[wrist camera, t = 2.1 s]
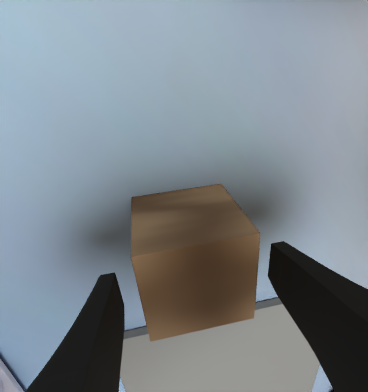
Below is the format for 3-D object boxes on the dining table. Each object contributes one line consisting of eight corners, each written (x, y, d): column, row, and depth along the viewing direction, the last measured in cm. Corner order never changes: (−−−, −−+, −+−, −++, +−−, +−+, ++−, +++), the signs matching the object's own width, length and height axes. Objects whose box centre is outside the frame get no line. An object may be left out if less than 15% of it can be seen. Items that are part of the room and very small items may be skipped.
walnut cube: (145, 266, 16) (150, 341, 11) (131, 196, 13) (130, 256, 9) (221, 251, 16) (254, 318, 12) (220, 183, 14) (260, 233, 10)
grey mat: (146, 442, 26) (146, 450, 25) (108, 334, 18) (107, 342, 17) (304, 398, 28) (307, 404, 27) (336, 284, 20) (341, 290, 19)
